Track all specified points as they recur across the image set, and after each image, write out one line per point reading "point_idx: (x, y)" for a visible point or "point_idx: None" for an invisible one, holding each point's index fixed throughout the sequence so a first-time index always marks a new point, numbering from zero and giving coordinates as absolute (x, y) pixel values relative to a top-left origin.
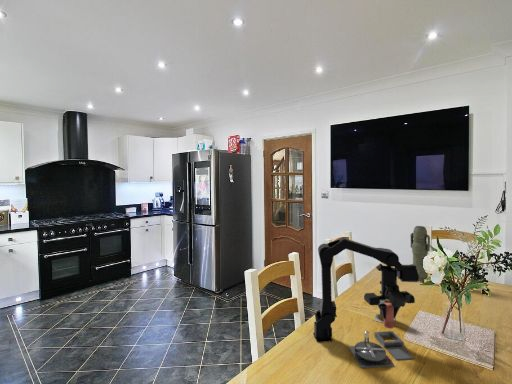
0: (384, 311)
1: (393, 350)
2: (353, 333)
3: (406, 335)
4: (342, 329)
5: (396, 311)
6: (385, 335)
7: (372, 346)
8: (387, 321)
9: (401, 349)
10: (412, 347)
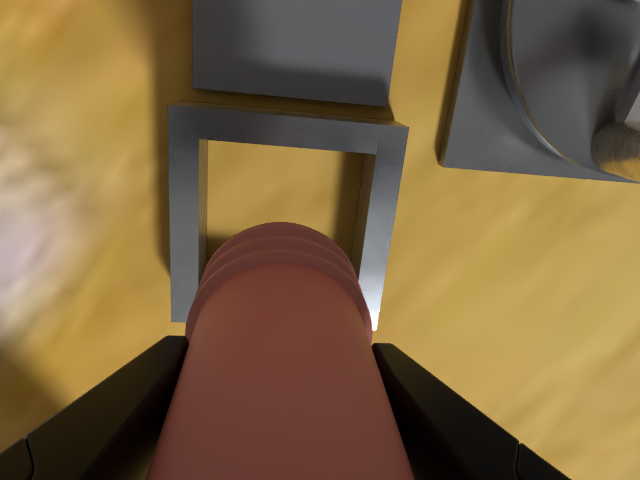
0: (493, 458)
1: (341, 44)
2: (511, 374)
3: (30, 280)
4: (557, 433)
5: (74, 438)
6: None
7: (608, 66)
8: (349, 292)
9: (243, 41)
10: (84, 71)
